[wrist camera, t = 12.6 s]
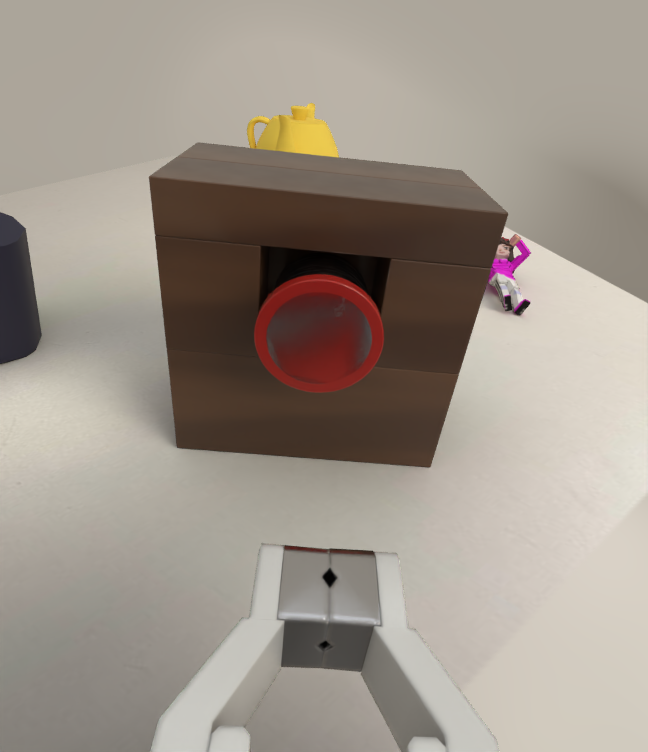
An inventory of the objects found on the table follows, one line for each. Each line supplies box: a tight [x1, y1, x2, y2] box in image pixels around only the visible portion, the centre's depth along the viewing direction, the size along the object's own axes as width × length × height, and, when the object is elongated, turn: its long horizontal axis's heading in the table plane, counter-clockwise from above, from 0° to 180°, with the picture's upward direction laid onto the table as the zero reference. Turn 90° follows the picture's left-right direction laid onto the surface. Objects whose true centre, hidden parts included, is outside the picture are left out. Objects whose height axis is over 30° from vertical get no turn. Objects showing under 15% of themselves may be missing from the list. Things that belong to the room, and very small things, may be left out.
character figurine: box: [488, 234, 531, 315], centre depth 48 cm, size 6×5×12 cm
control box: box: [149, 143, 508, 467], centre depth 26 cm, size 8×14×14 cm, turn 89°
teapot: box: [247, 103, 339, 157], centre depth 71 cm, size 20×15×12 cm
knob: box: [254, 253, 384, 393], centre depth 21 cm, size 4×5×5 cm
